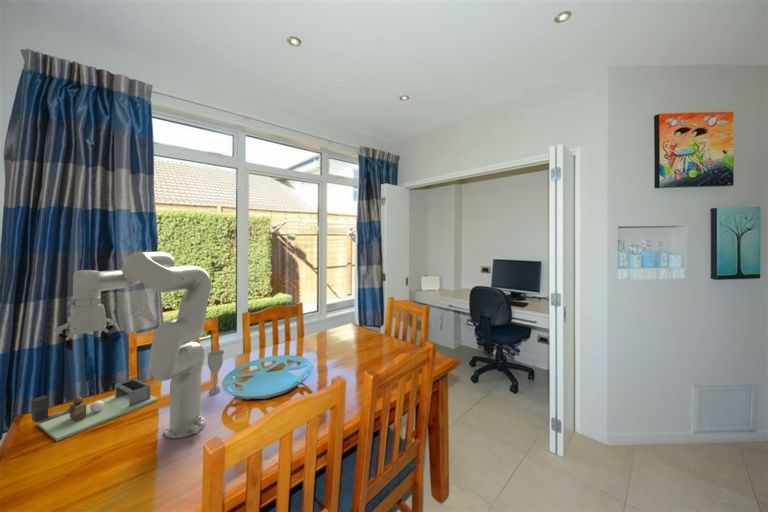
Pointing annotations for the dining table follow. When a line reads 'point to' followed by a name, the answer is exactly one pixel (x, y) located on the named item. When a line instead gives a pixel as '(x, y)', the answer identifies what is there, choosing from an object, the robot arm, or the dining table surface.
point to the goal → (133, 391)
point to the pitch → (91, 417)
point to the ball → (97, 406)
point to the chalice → (215, 367)
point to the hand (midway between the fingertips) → (86, 345)
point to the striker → (41, 412)
